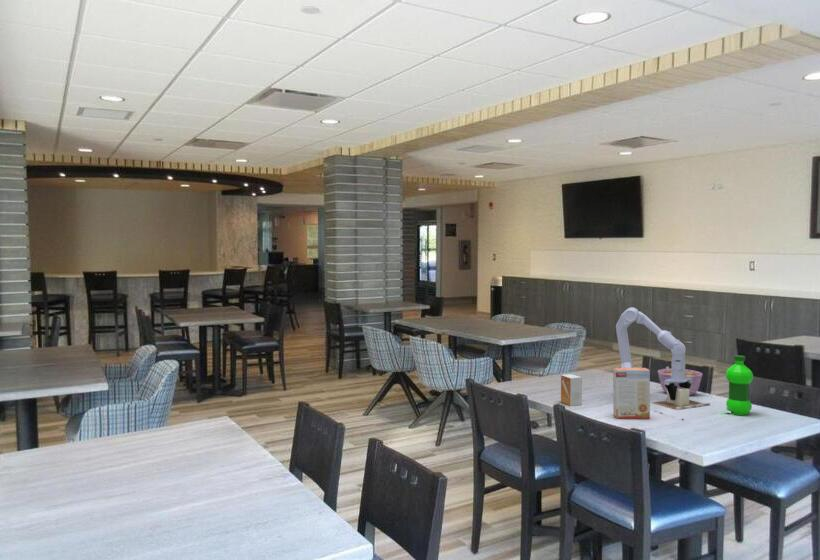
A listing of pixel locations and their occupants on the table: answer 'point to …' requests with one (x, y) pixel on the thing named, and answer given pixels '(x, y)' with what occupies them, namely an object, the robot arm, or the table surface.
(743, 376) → the plastic bottle
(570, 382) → the small box
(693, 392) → the bowl of food
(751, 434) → the table surface
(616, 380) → the cracker box
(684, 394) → the carton
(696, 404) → the shelf board
